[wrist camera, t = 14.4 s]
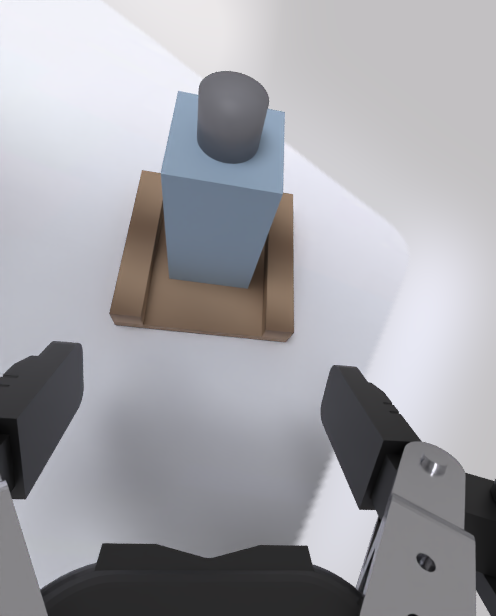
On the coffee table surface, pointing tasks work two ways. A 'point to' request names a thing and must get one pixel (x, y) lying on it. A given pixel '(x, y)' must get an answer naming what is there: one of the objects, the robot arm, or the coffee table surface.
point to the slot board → (201, 296)
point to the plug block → (221, 180)
